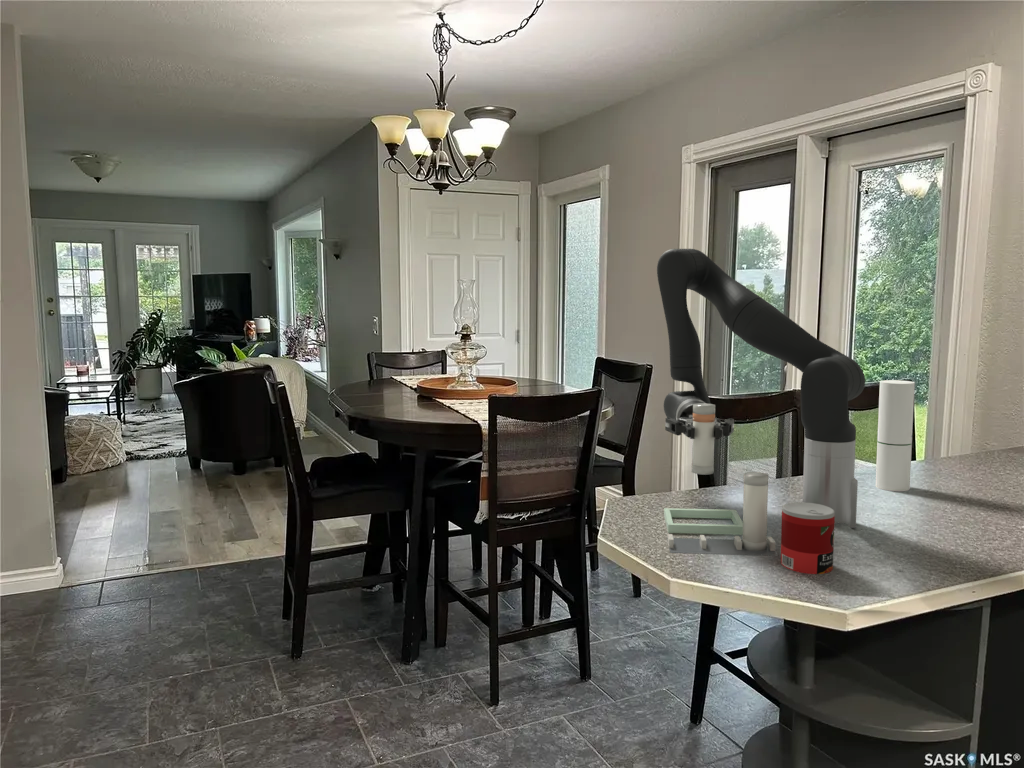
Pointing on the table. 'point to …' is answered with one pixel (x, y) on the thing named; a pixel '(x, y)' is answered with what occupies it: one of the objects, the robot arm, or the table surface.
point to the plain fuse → (755, 511)
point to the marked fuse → (703, 439)
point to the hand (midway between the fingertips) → (705, 433)
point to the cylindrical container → (894, 435)
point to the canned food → (807, 537)
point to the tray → (703, 528)
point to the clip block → (716, 546)
